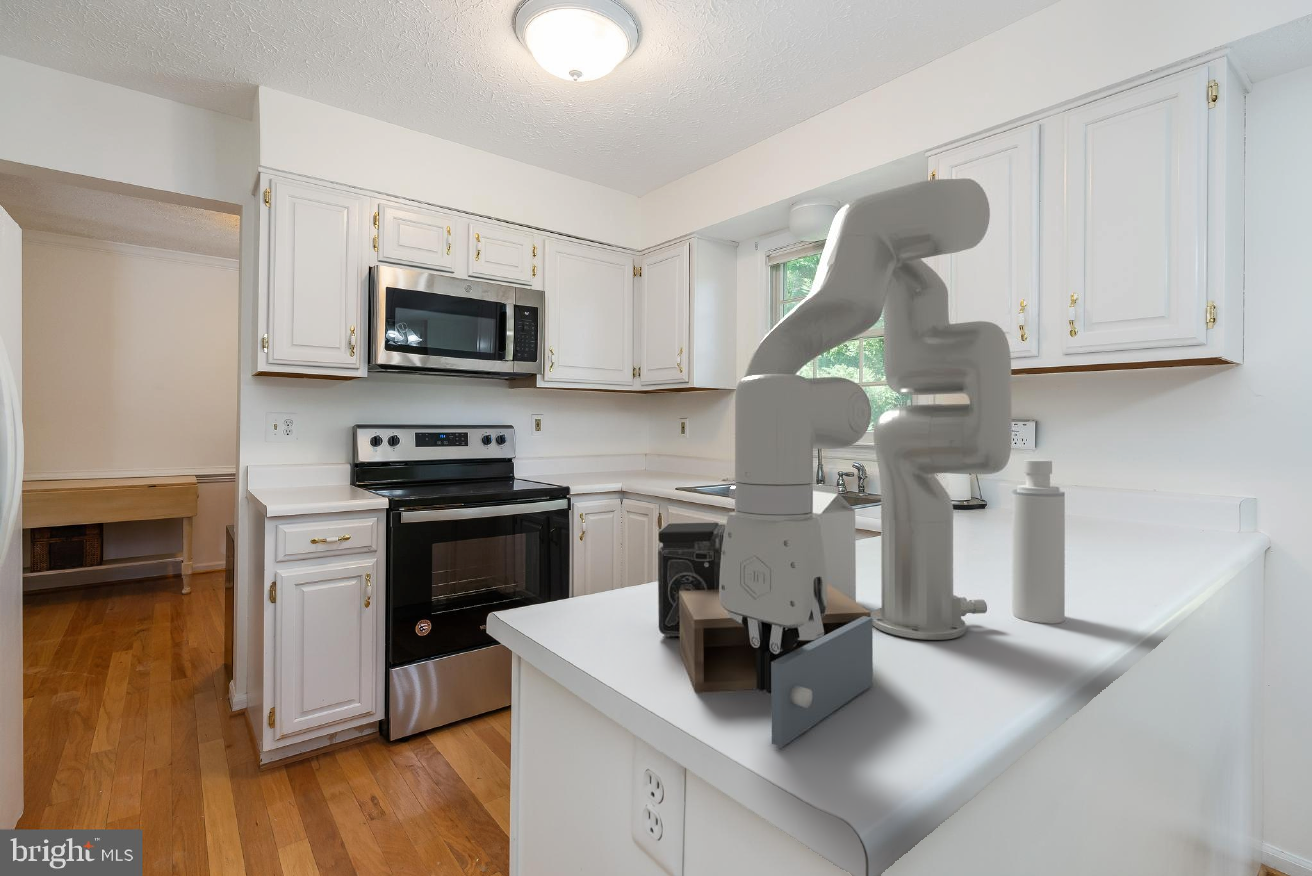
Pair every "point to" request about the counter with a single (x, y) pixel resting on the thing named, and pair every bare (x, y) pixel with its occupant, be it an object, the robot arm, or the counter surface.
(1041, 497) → the spray bottle
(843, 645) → the side door
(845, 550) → the milk carton
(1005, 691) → the counter surface
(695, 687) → the cabinet
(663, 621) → the camera
